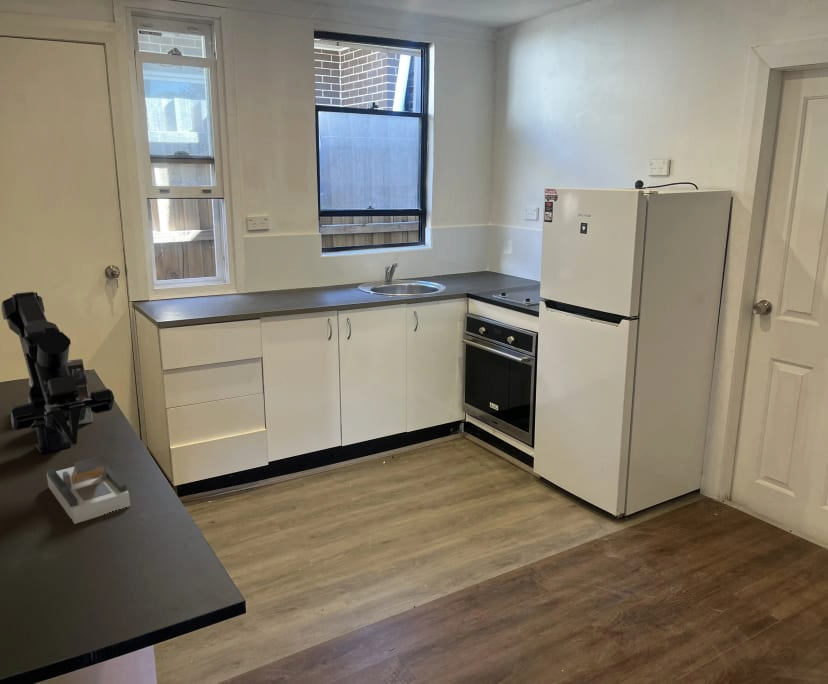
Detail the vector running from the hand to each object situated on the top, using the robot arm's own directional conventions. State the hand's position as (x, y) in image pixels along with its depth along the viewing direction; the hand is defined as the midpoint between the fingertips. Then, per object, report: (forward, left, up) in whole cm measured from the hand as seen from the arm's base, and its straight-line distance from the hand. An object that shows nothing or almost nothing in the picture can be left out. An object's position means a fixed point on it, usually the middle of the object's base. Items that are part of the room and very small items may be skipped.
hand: (74, 444), depth 133 cm
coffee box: (-43, +9, -10) cm, 45 cm away
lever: (+5, 0, -6) cm, 8 cm away
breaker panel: (+5, 0, -10) cm, 11 cm away
